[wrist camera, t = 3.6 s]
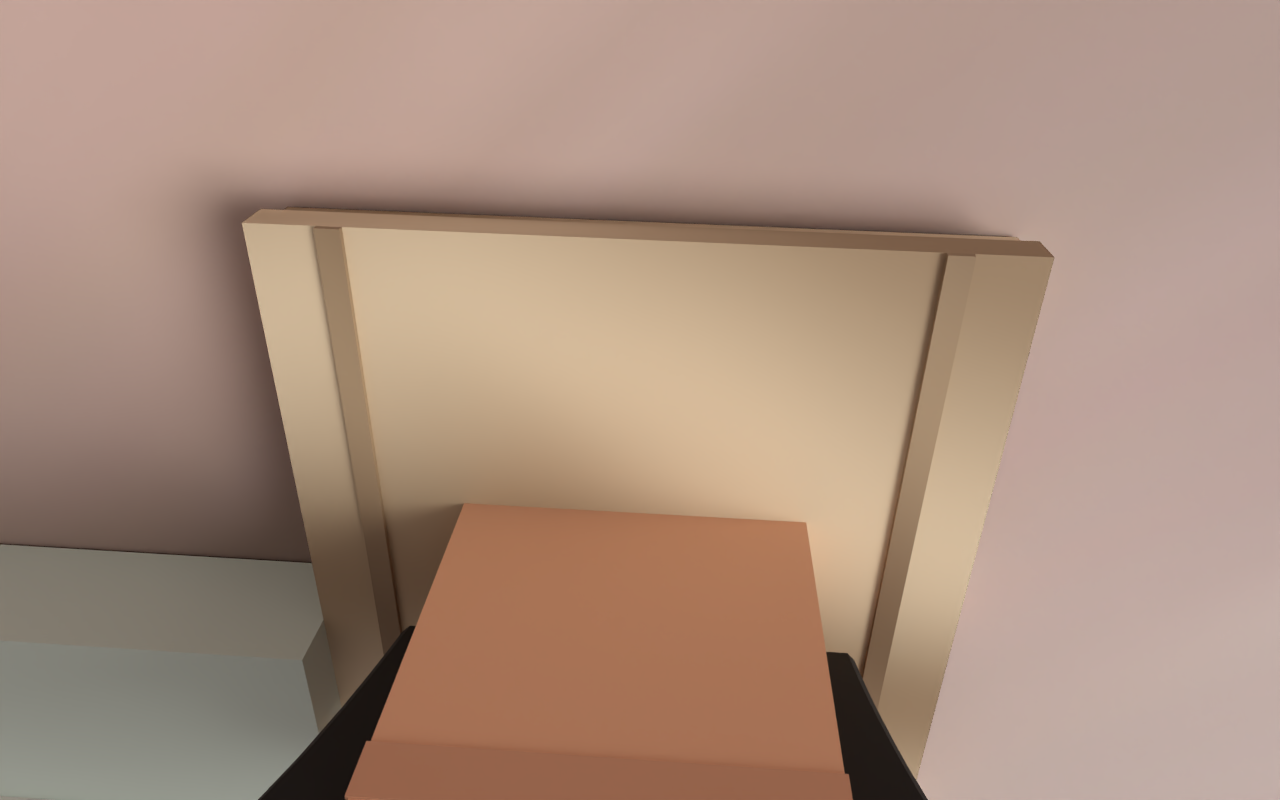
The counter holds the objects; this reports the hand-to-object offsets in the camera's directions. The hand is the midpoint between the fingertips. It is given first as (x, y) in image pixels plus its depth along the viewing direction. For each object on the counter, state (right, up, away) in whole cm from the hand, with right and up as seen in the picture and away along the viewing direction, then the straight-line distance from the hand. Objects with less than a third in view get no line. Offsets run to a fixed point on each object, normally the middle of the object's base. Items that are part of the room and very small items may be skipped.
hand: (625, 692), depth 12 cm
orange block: (0, +1, +1) cm, 1 cm away
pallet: (0, +1, +2) cm, 2 cm away
